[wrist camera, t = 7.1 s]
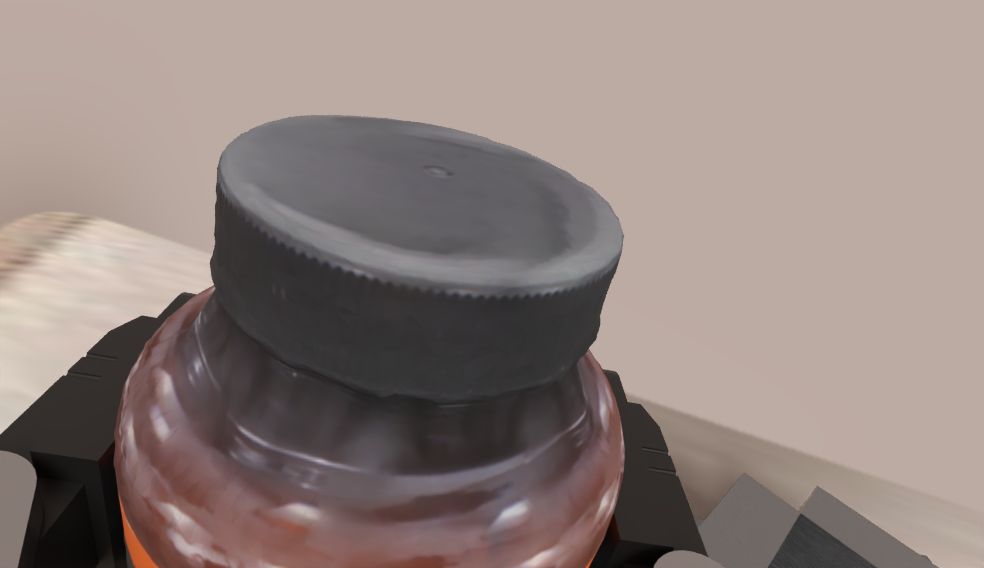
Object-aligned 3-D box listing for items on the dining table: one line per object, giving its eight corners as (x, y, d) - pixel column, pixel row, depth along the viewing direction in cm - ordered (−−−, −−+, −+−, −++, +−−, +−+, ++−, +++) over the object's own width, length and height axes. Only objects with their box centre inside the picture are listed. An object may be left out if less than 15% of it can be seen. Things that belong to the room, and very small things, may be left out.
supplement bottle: (168, 610, 12) (119, 54, 7) (431, 547, 15) (548, 115, 9) (146, 1046, 7) (-68, 398, 2) (533, 838, 10) (877, 321, 5)
